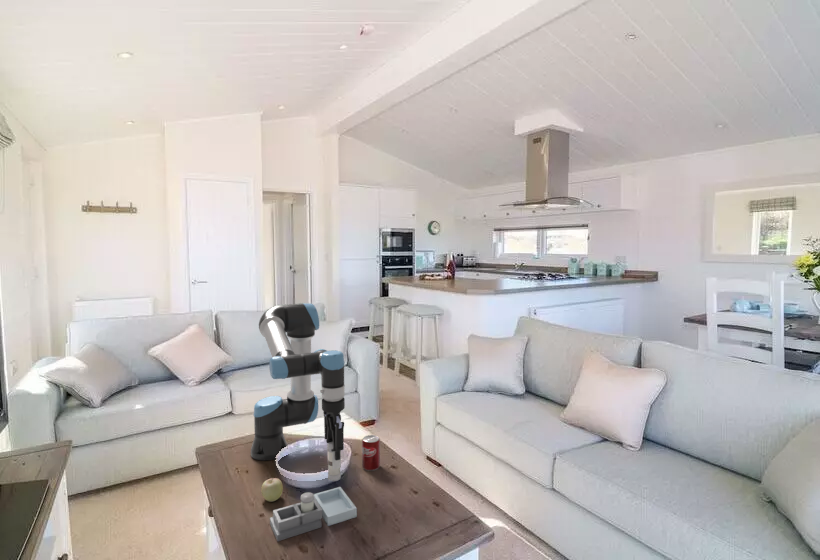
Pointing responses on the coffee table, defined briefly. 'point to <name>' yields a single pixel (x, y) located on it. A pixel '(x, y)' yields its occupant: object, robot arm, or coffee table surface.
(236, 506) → the coffee table surface
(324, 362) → the robot arm
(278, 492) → the fruit
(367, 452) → the soda can
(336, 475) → the cylinder
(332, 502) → the tray
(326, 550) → the coffee table surface
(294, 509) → the block
